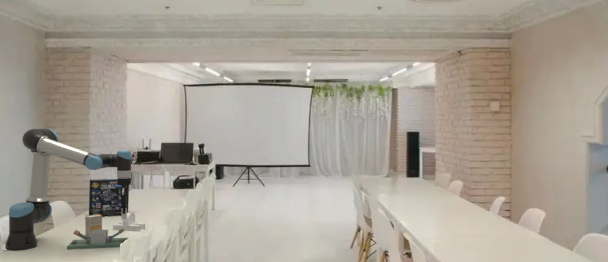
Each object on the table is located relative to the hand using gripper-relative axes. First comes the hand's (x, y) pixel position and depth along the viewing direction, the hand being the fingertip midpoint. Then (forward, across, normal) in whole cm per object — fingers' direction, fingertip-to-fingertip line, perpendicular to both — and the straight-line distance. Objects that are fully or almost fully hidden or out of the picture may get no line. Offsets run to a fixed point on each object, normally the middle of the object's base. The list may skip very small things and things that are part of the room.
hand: (124, 219), depth 281 cm
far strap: (+9, 0, +4) cm, 10 cm away
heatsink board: (+14, 0, +14) cm, 19 cm away
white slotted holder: (+14, +39, +2) cm, 42 cm away
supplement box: (+14, +19, +20) cm, 31 cm away
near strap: (+9, 0, +23) cm, 24 cm away
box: (+14, +89, +20) cm, 92 cm away
